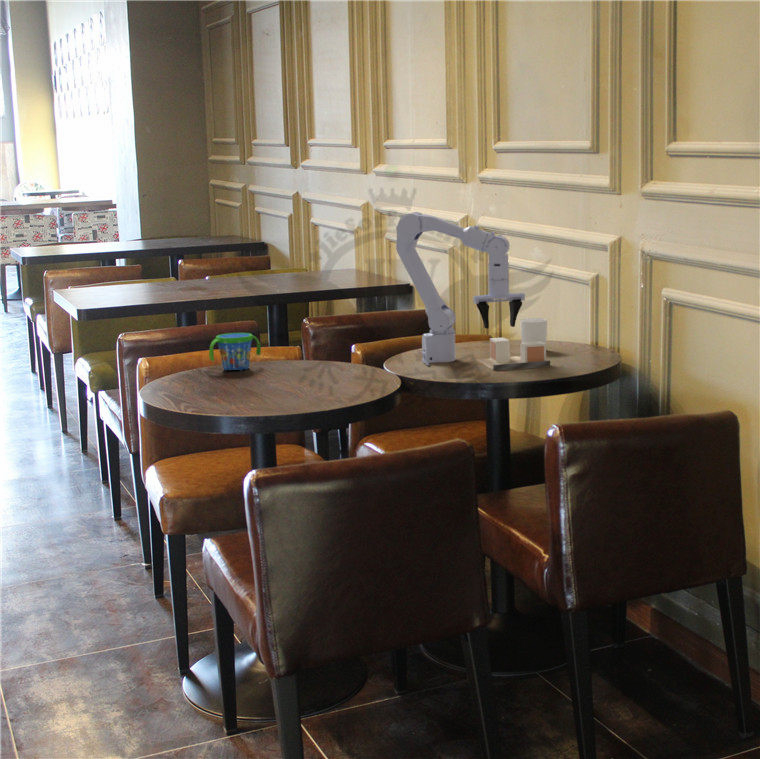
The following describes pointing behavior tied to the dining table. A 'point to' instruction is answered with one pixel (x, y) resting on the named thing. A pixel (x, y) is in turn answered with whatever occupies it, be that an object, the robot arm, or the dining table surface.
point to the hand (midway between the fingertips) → (499, 327)
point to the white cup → (534, 330)
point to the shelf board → (513, 364)
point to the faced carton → (533, 351)
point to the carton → (500, 349)
